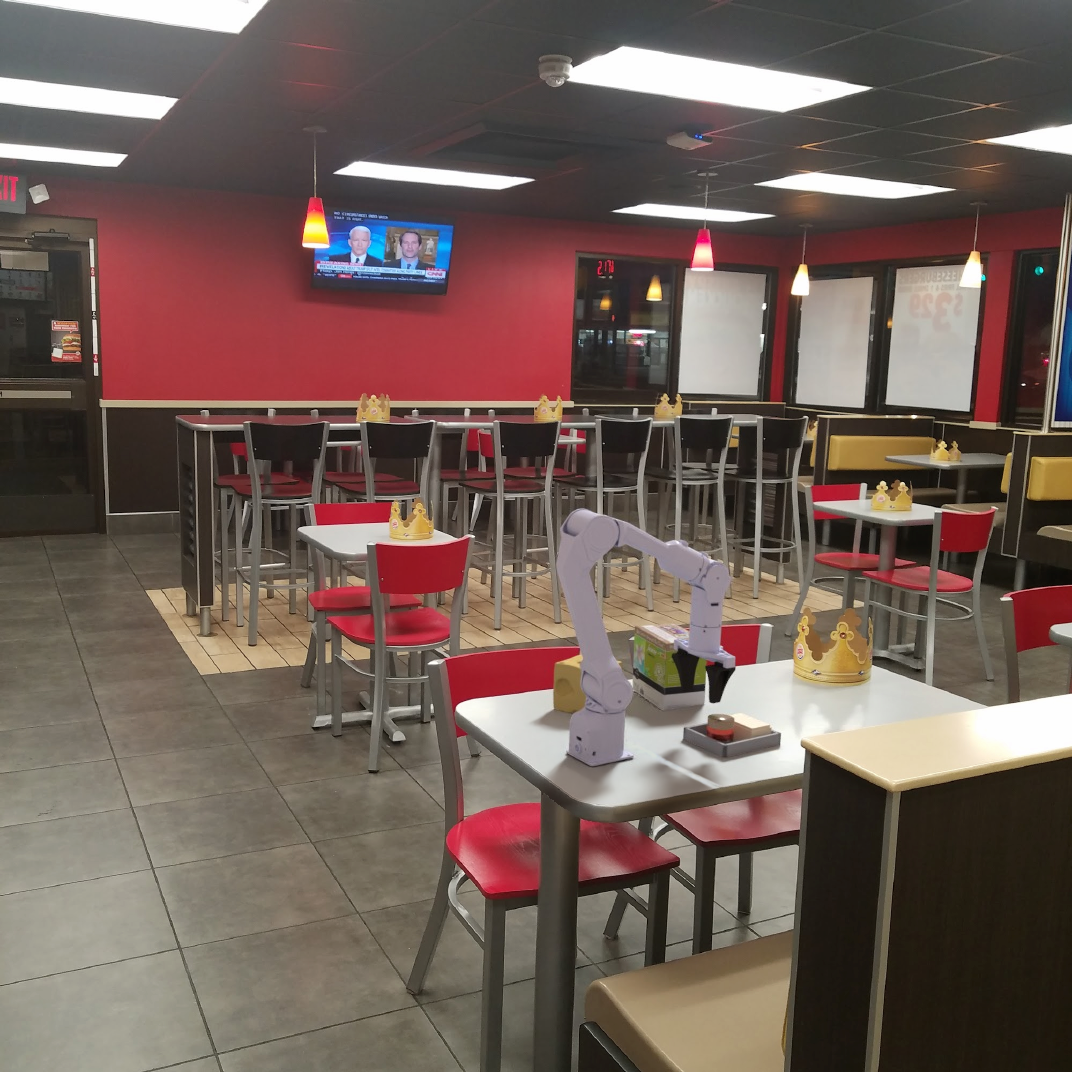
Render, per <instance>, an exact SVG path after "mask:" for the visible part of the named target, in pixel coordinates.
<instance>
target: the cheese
mask: <svg viewBox="0 0 1072 1072" xmlns="http://www.w3.org/2000/svg"><path fill="white" fill-rule="evenodd" d="M582 660H583V657H582V654H578V655H575V656H573V657H571V658H567V659H564V660H561V661H557V662H555V663H554V669H553V691H552V692H553V693H552V695H553V696H552V700H553V704H552V705H553V709H554V710H556V711H560V712H564V713H568V714H574V713H575V712H577V711H580V710H581V709H583V708H584V706H585V700H586V694H585V693H584V692H583V691H582V689H581V685H580V680H581V668H580V663H581V661H582ZM616 661H617V662H618V664H619V665H620V667H621V669H622V672H623V662H622V661H621V660H616ZM623 673H624V672H623Z"/></svg>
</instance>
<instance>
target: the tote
mask: <svg viewBox="0 0 1072 1072" xmlns="http://www.w3.org/2000/svg"><path fill="white" fill-rule="evenodd" d="M707 723H708V722H704V723H698V724H695V725H689V726H685V727H683V731H682V733H683V735H682V739H683V740H685V741H686V742H688V743H691V744H693V745H694V746H695V745H696V746H698V747H700V748H702V749H703V750H707V751H708V752H710V753H713V754H714V755H715V754H716V755H717V756H720V757H722V758H723V759H725V758H730V757H733V756H738V755H743V754H748V753H751V752H756V751H760V750H765V749H768V748H773V747H777V746H780V745H781V741H782V740H781V739H782V732H779V731H777V730H774V729H772V728H771V734H768V735H764V736H759V737H755V738H750V739H746V740H742V741H735V740H733V743H728V744H724V743H722V742H719V741H717V740H715V739H712V738H710V737H708V736H707Z"/></svg>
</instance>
